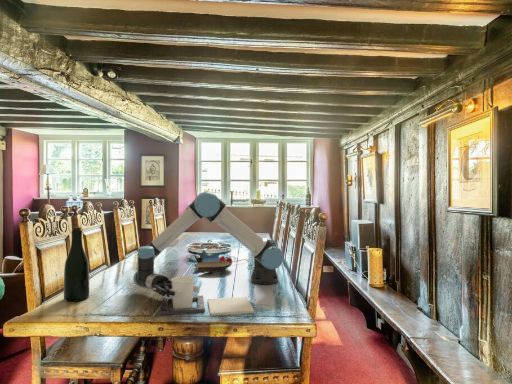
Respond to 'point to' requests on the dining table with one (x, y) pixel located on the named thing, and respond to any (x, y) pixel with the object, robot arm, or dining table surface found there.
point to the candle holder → (183, 291)
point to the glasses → (229, 259)
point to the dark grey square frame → (182, 310)
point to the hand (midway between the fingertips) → (189, 292)
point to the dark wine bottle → (76, 270)
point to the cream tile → (230, 306)
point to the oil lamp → (211, 265)
